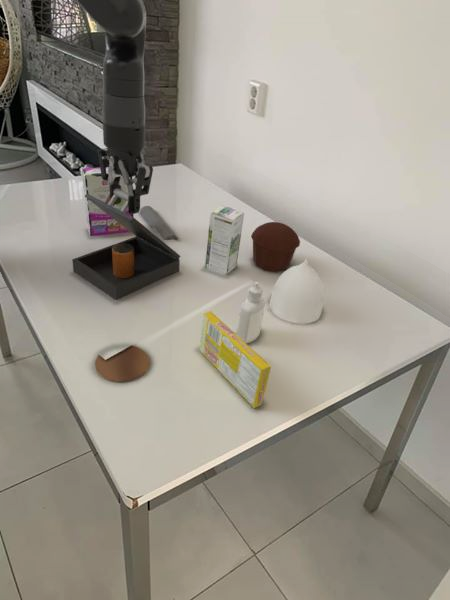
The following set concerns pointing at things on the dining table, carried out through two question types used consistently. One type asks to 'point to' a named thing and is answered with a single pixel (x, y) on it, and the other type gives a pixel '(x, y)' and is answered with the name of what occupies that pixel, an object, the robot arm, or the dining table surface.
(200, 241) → the dining table surface
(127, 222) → the box lid
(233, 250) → the syrup box
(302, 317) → the teardrop
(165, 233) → the half round rod
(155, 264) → the open lid tray box
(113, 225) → the candy bar box
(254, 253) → the muffin
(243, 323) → the eye dropper bottle
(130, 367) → the coaster
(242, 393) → the candy box
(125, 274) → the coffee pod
